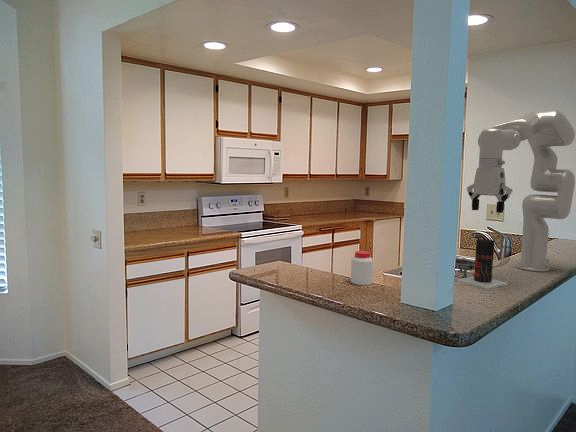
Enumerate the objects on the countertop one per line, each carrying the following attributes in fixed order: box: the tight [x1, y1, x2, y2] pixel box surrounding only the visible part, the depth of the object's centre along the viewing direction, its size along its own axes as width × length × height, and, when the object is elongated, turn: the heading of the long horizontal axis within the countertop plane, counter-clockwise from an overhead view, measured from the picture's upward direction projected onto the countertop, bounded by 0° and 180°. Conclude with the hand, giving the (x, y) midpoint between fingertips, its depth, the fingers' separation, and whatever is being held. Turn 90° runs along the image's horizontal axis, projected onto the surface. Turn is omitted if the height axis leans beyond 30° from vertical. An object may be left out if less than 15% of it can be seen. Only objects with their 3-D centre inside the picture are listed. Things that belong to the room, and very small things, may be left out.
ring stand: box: [454, 258, 475, 279], centre depth 174 cm, size 11×11×5 cm
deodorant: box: [473, 238, 495, 283], centre depth 161 cm, size 6×6×15 cm
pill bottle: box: [350, 250, 374, 286], centre depth 159 cm, size 8×8×11 cm
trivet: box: [457, 276, 508, 290], centre depth 161 cm, size 12×12×1 cm
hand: (487, 211), depth 160 cm, fingers open, 9 cm apart
